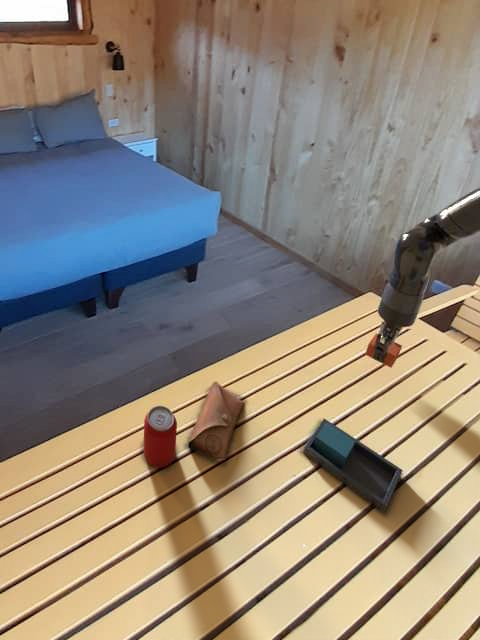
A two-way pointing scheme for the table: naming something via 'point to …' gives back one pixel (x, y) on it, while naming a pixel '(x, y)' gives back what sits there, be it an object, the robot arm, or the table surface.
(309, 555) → the table surface
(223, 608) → the table surface
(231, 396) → the sunglasses case
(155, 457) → the beverage can
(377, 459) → the frame
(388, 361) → the loose pad
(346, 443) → the pad
